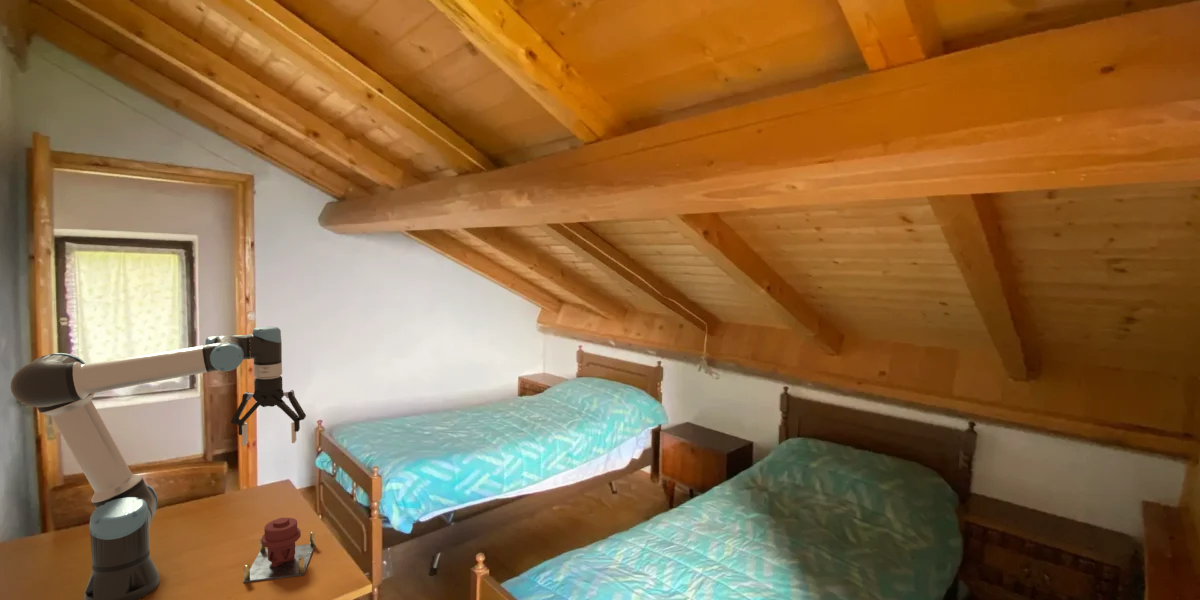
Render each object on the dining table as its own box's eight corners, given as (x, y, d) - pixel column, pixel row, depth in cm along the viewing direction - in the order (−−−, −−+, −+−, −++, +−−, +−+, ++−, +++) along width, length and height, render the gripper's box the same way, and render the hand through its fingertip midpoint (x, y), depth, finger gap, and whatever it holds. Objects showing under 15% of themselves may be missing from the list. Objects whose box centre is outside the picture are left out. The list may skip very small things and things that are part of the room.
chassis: (243, 582, 155) (242, 567, 155) (260, 551, 171) (260, 536, 171) (303, 575, 159) (303, 560, 159) (315, 544, 176) (315, 531, 175)
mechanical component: (308, 554, 169) (283, 572, 159) (279, 550, 171) (253, 567, 161) (308, 514, 168) (282, 531, 158) (279, 510, 170) (252, 526, 160)
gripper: (217, 380, 168) (219, 450, 170) (310, 377, 175) (311, 444, 177) (226, 375, 175) (228, 442, 177) (314, 372, 182) (316, 436, 184)
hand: (269, 443), depth 177 cm, fingers open, 13 cm apart
